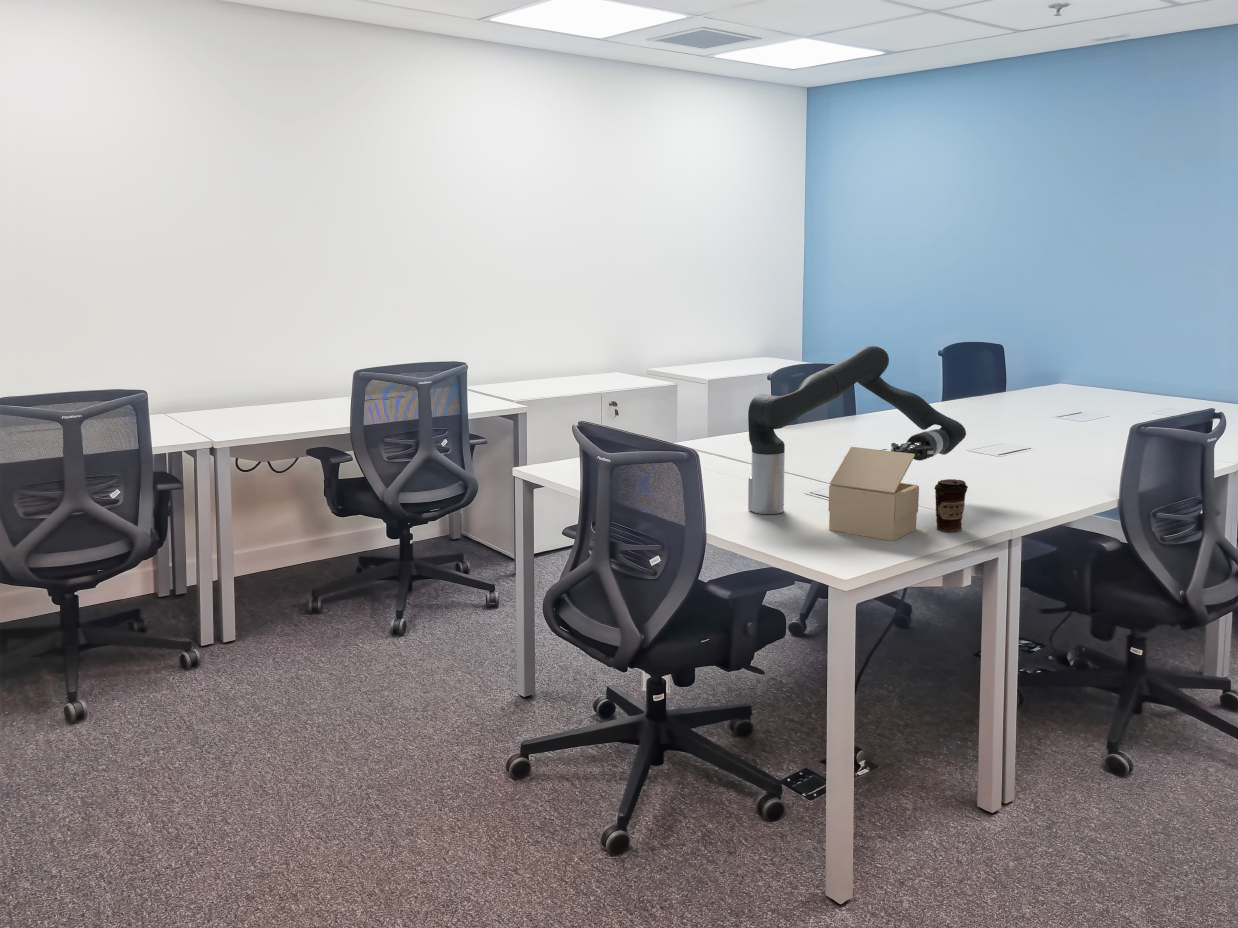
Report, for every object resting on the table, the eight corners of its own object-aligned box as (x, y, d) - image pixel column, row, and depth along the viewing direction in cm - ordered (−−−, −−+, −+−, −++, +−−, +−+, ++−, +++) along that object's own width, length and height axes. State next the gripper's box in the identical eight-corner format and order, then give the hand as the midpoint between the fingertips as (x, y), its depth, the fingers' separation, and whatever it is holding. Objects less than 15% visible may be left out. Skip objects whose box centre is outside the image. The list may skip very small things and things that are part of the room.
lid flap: (830, 484, 264) (829, 483, 264) (851, 448, 271) (851, 446, 271) (894, 493, 253) (894, 492, 252) (915, 455, 260) (914, 453, 259)
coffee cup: (971, 533, 261) (974, 484, 258) (939, 534, 260) (942, 485, 258) (958, 524, 269) (960, 477, 267) (928, 525, 269) (930, 478, 266)
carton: (827, 529, 267) (828, 485, 264) (852, 518, 277) (853, 476, 275) (894, 541, 255) (896, 495, 252) (918, 529, 265) (919, 485, 263)
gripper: (903, 430, 289) (876, 438, 277) (948, 434, 281) (922, 443, 268) (902, 455, 291) (875, 465, 278) (946, 460, 283) (920, 471, 270)
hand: (898, 454), depth 273 cm, fingers closed
